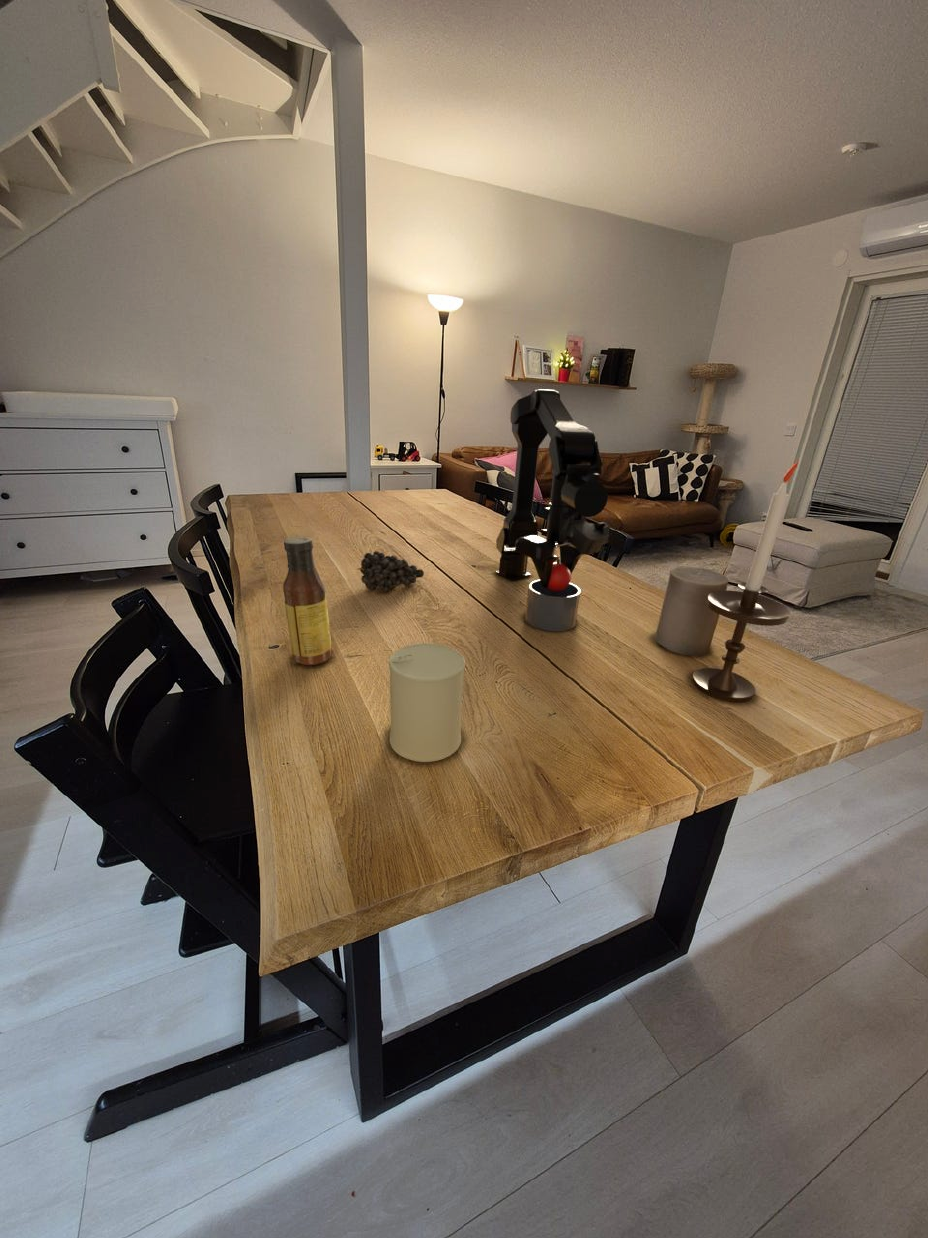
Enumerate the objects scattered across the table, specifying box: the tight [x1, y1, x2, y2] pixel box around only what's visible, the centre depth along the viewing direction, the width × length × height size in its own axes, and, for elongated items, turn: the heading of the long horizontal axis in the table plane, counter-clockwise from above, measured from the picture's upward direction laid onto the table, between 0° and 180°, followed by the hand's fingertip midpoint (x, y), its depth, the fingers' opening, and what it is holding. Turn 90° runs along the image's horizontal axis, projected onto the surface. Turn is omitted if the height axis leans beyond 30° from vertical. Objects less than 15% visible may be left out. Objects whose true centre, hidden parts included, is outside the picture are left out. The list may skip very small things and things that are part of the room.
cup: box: [524, 579, 582, 632], centre depth 99 cm, size 10×10×7 cm
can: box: [388, 642, 466, 763], centre depth 62 cm, size 9×9×12 cm
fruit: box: [356, 550, 425, 593], centre depth 111 cm, size 9×8×15 cm
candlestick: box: [691, 459, 799, 704], centre depth 73 cm, size 11×11×35 cm
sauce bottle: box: [282, 536, 332, 666], centre depth 78 cm, size 7×6×20 cm
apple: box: [547, 558, 572, 592], centre depth 97 cm, size 6×6×6 cm
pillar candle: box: [654, 565, 730, 656], centre depth 91 cm, size 10×10×15 cm
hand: (554, 584), depth 98 cm, fingers closed on apple, 5 cm apart
